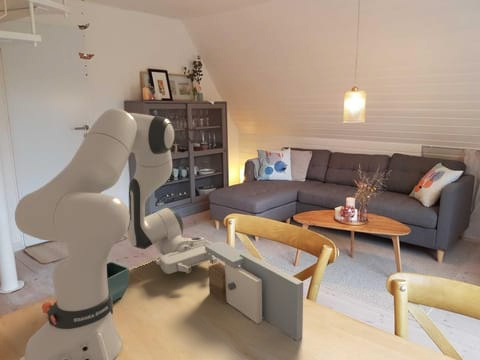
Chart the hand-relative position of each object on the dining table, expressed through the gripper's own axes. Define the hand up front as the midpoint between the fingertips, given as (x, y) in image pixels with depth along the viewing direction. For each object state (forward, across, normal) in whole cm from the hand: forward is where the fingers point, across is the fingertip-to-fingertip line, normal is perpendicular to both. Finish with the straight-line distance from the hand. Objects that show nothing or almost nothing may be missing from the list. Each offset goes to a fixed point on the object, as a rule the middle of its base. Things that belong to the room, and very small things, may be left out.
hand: (202, 265), depth 117 cm
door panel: (+21, -1, +6) cm, 22 cm away
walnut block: (+10, 0, +6) cm, 12 cm away
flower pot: (-10, -26, +6) cm, 29 cm away
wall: (+22, +1, +6) cm, 23 cm away
